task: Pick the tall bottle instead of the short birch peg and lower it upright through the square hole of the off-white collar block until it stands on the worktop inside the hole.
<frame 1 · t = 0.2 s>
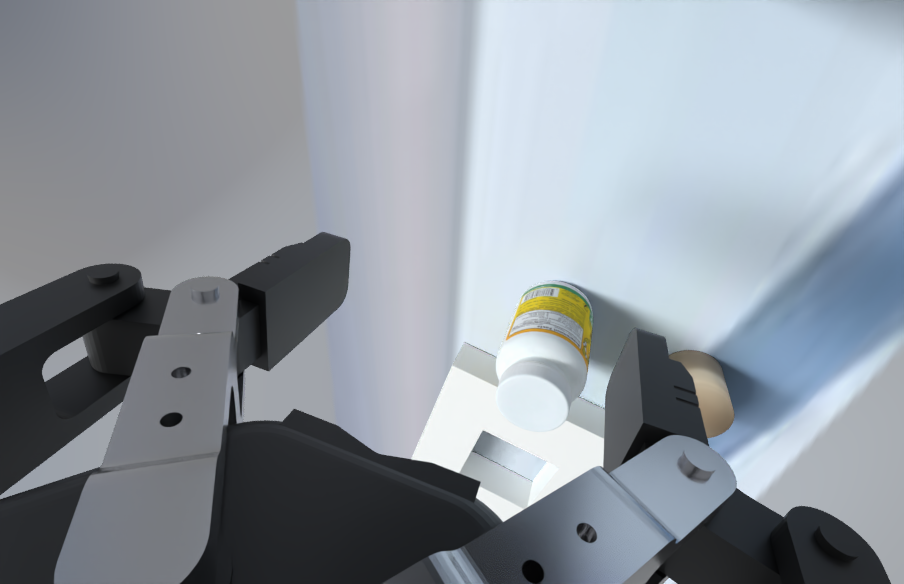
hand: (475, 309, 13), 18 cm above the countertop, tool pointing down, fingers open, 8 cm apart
supplement bottle: (555, 310, 33), on the countertop
collar block: (513, 444, 40), on the countertop
short birch peg: (689, 373, 31), on the countertop
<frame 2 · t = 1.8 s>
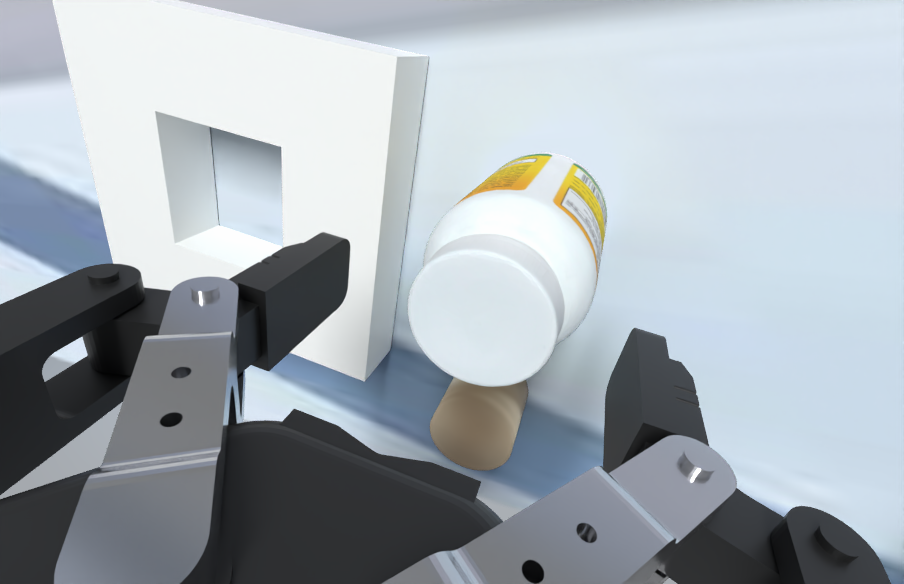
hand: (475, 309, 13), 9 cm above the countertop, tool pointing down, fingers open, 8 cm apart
supplement bottle: (541, 212, 20), on the countertop
collar block: (265, 184, 24), on the countertop
short birch peg: (491, 386, 25), on the countertop
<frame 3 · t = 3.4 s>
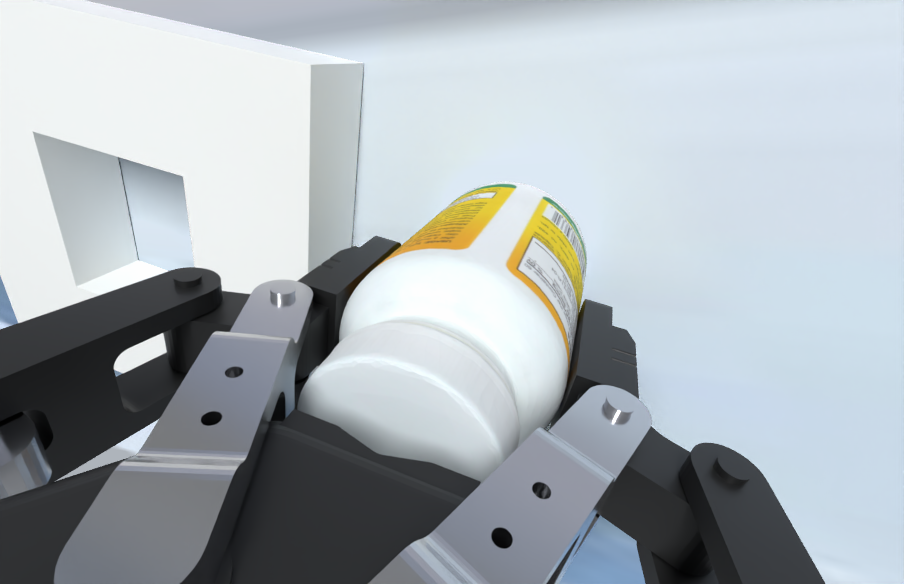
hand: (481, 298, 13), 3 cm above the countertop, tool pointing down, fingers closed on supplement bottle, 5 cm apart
supplement bottle: (508, 251, 16), on the countertop, touching gripper
collar block: (185, 215, 20), on the countertop
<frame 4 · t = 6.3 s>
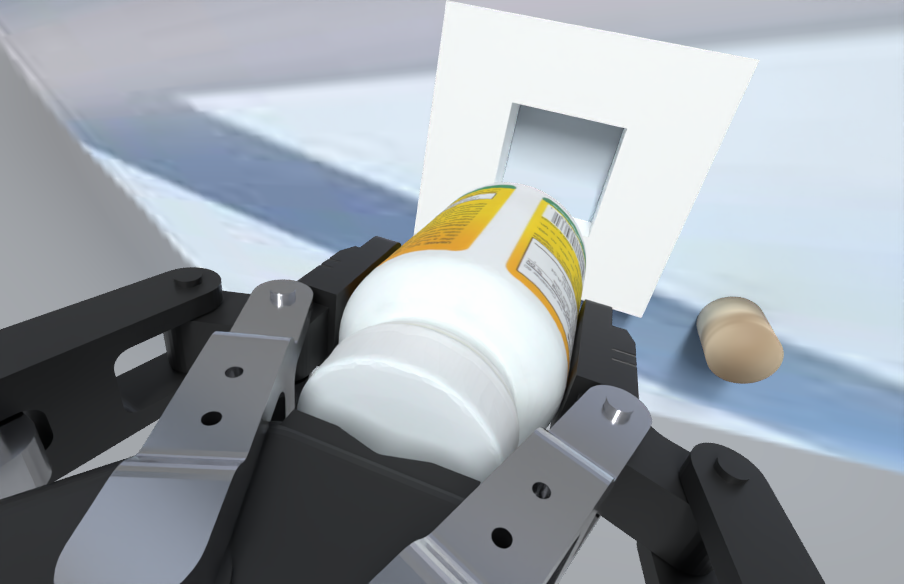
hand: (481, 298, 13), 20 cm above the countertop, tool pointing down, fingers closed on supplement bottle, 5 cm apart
supplement bottle: (508, 252, 16), point 16 cm above the countertop, touching gripper
collar block: (557, 162, 30), on the countertop
short birch peg: (729, 323, 31), on the countertop
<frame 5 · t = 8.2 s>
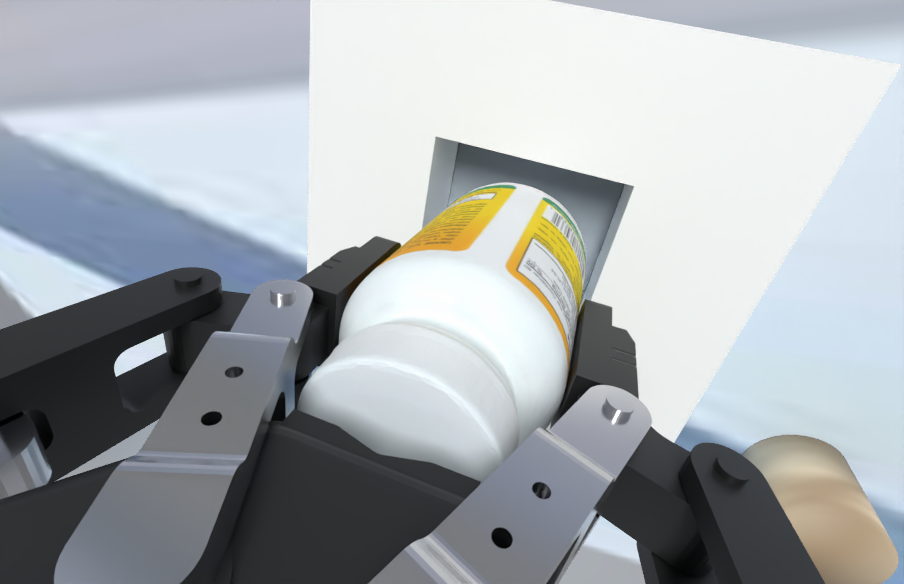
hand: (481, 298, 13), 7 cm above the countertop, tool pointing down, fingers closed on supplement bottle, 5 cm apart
supplement bottle: (508, 252, 16), point 3 cm above the countertop, touching gripper
collar block: (522, 225, 19), on the countertop
short birch peg: (791, 470, 20), on the countertop
when the fingers open (4 cm above the countertop, at t = 9.5 s): supplement bottle stays where it is, resting in collar block.
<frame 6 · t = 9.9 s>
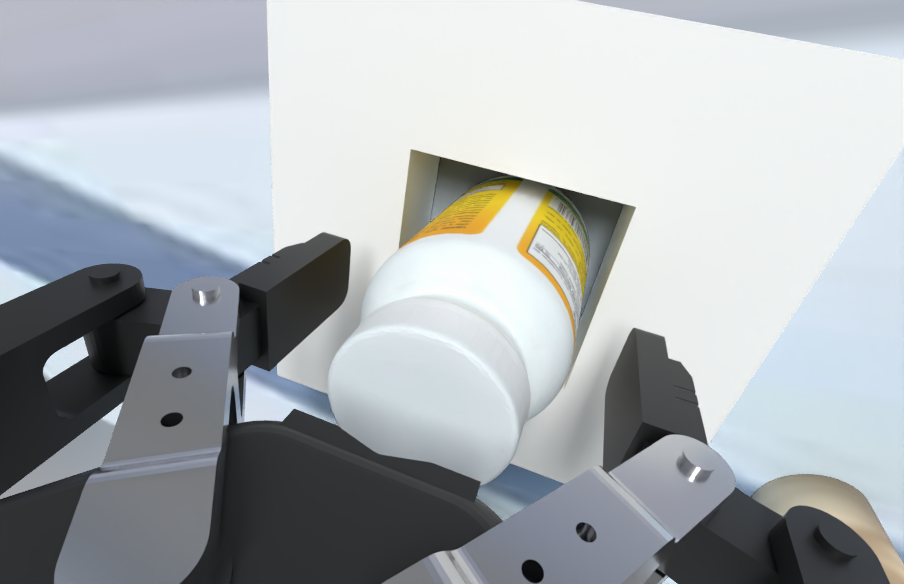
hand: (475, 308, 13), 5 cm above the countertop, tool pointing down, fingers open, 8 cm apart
supplement bottle: (515, 242, 17), resting in collar block
collar block: (511, 244, 17), on the countertop
short birch peg: (807, 511, 18), on the countertop
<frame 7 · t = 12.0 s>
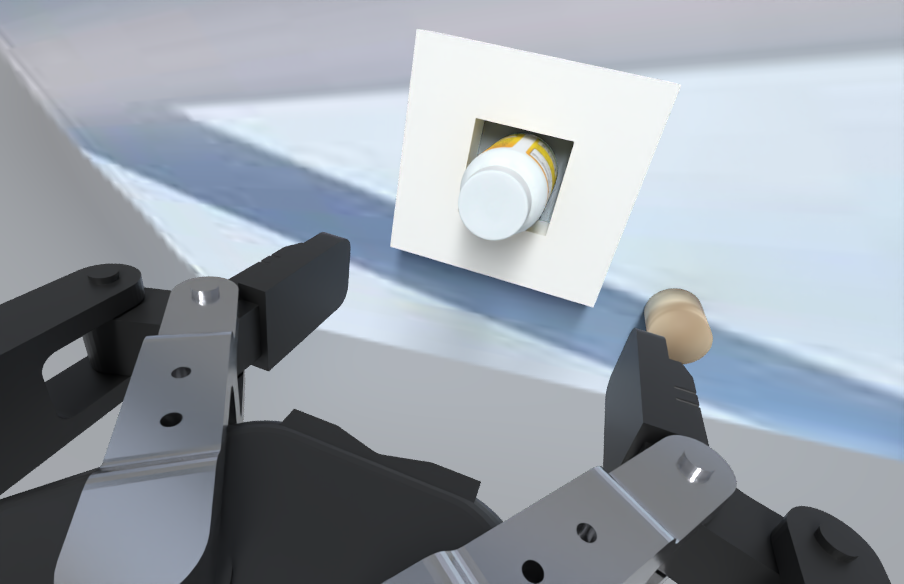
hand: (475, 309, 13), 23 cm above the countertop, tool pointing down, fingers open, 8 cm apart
supplement bottle: (520, 169, 34), resting in collar block
collar block: (519, 169, 33), on the countertop
short birch peg: (672, 312, 35), on the countertop
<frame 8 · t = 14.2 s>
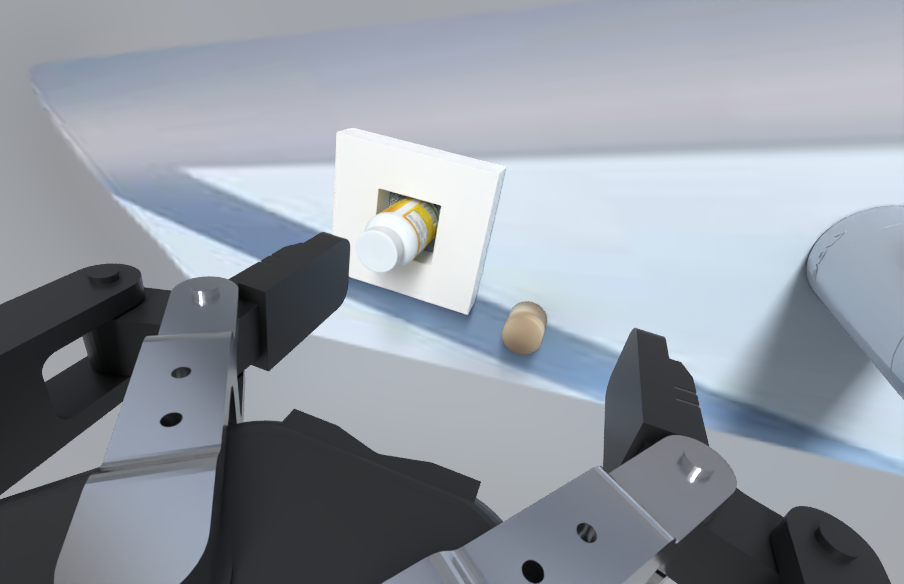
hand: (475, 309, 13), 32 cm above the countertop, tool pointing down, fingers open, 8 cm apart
supplement bottle: (418, 218, 48), resting in collar block
collar block: (416, 218, 48), on the countertop
short birch peg: (528, 318, 49), on the countertop
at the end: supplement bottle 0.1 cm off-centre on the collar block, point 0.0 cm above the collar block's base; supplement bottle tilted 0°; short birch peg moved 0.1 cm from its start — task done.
